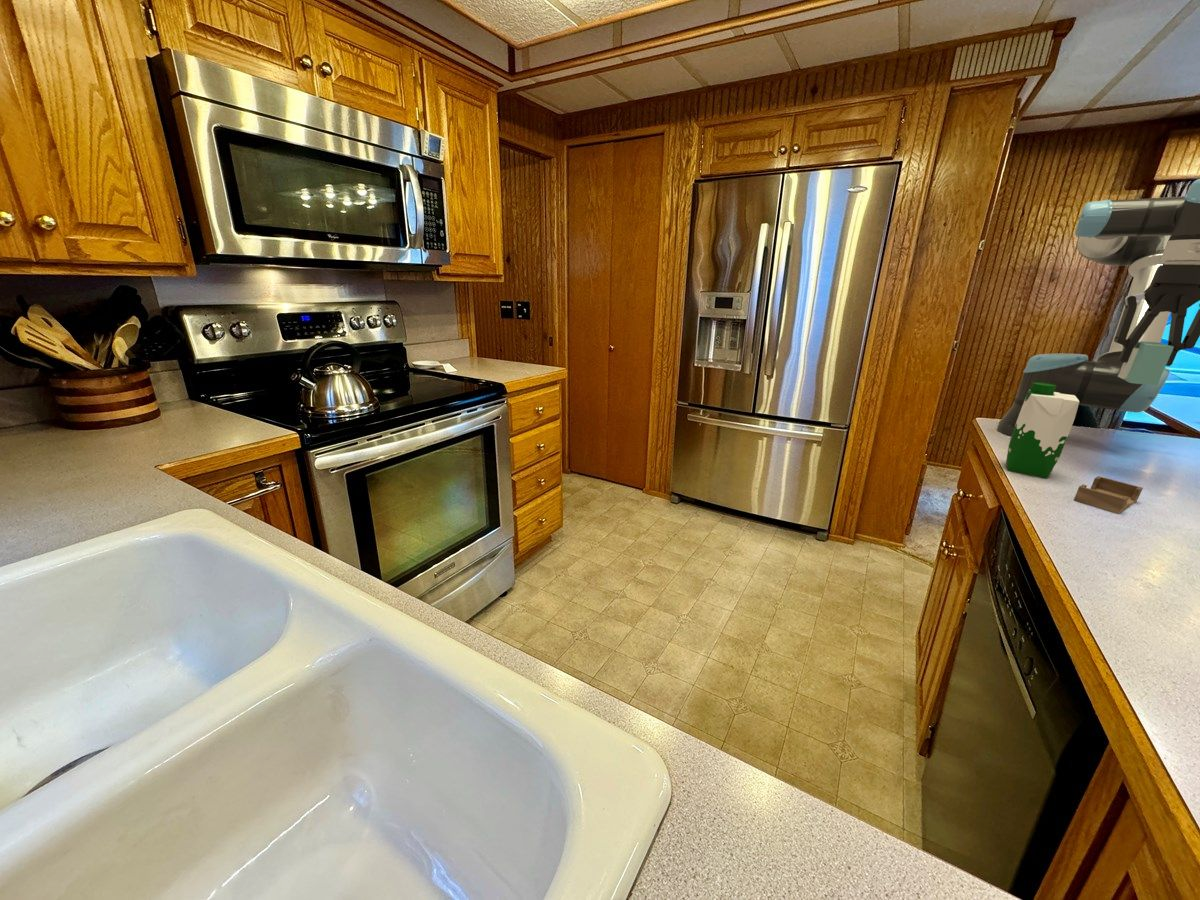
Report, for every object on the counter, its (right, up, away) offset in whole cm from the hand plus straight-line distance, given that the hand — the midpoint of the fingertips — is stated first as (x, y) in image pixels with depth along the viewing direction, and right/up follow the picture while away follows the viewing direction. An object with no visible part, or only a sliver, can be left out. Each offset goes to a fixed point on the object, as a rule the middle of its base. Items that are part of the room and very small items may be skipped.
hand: (1137, 379), depth 104 cm
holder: (-15, -26, -8) cm, 31 cm away
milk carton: (-18, -20, +7) cm, 28 cm away
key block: (0, 0, 0) cm, 0 cm away
